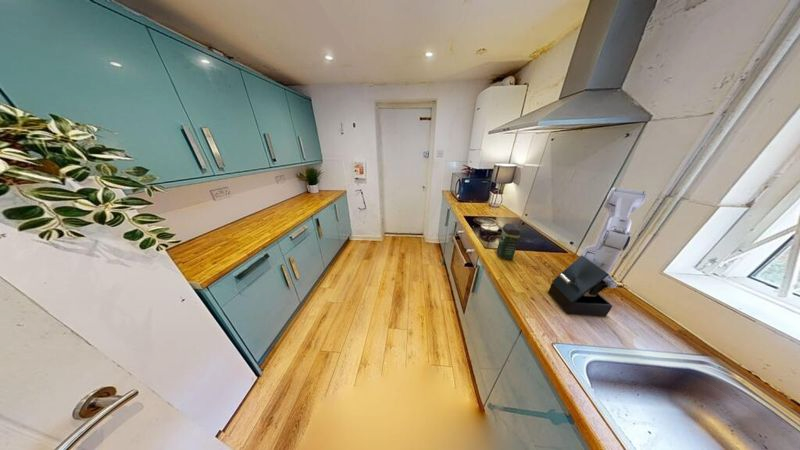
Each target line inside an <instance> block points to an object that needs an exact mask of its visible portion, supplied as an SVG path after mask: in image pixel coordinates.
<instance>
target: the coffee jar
mask: <svg viewBox="0 0 800 450" xmlns="http://www.w3.org/2000/svg"><path fill="white" fill-rule="evenodd" d="M521 235H522V230H521V229H520V228H519V226H517V225H516V224H515V223H505V224H504V225H503V227H502V229H501V234H500V238H499V240H498V241H499V242H498V245H497V248H496V254H497V256H498V257H499V258H500V259H502V260H506V261H507V260H513V259H514V257H515V253H516V250H517V246H518V242H519V239H520V237H521Z"/></svg>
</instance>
